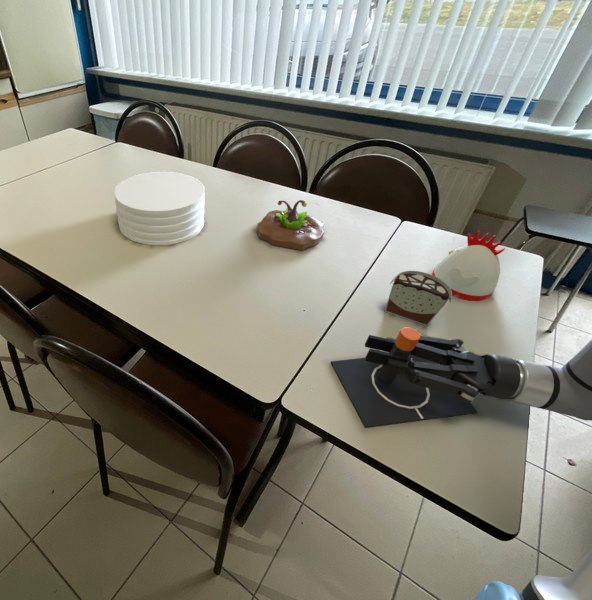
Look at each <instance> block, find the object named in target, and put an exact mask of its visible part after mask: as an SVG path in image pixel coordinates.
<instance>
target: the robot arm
mask: <svg viewBox="0 0 592 600" xmlns="http://www.w3.org/2000/svg"><path fill="white" fill-rule="evenodd" d="M395 340H396V338H394V337H393V338H392V337H385V338H384V337H381V336H376V335H372V334H369V335H368V337H367V339H366V341H365V343H364V347H365V348H367V349H368V352H367V353H366V356H365V357H364V358H365V361H368V362H373V363H377V364H381V365H386V367H387V368H389V369H393V370H398V371H402V372H404V373H405V374H407V375H408V377H409V382H410V383H413V384H416V385H419V386H422V387H426V388H429V389H432V390H436V391H439V392H442V393H446V394H449V395H452V396H456V397H457V398H459V399H461V400H463V401H465V402H467V403H471V404H472V402H473V401H474V400H475V399H476V398H477V396H479V395H481V396H485V397H487V398H493V399H497V400H502V401H508V402H512V403H516V404H519V405H524V406H527V407H531V408H536V409H541V410H545V411H549V412H554V413H558V414H560V415H565V416H569V417H574V418H576V419H579V420H583V421H591V422H592V339H590V340H589V341H588V342H587V343H586V344H585V345H584V346H583V347H582V348H581V349H579V351H578V352H577V353H576V354H575V355H573V357H572V358H571V359H570V360H568V361H567V362H566V363H565V364H564V365H563V366H562V367H556V366H550V365H546V364H541V363H536V362H532V361H527V360H523V359H519V358H518V359H517V358H515V359H514V358H512V357H507V356H503V355H498V354H493V353H487V354H481V355H480V354H477V353H474V352H473V351H469V350H467V349H465V347H464V346H463V345H464V340H462V339H460V338H456V339H455V338H454V339H447V338H440V337H433V336H427V335H422V334H420V339H419V341H418V342H417V344H416V346H415V347H414V349H413V350H412V351H411V353H410V355H414V356H417V357H420V358H423V359H426V360H429V361H432V362H436V363H439V365H437V364H429V363H421V362H414V360H413V359H411V360H410V361H409V363H408V362H407V361H408V357H405V356H400V355H397V354H392V353H389V352H390V350H391V348H392V347H393V345H394V343H395ZM419 378H420V379H419ZM474 600H592V548H590V550H589V551H588V552H587V554H586V555H585V556H584V557H583V558H582V559H581V561H580V562H579V563H578V565H576V567H575V568H574V570H573V571H572V572H571V573H570V575H569V576H566V577H560V576H559V577H558V576H552V575H551V576H550V575H543V574H536V575H534V576H533V577H532V578H531V580H529V582H528V583H527V584H526V586H525V587H524V588H523V589H522V591H521V592H517V590H516V588H515V587H513V585H510V584H505V583H504V582H502V581H499V580H493V581H489V583H488V584H486V585H484V586H483V587H482V588H481V589H480V590H479V591H478V593H477V595H476V596H475V598H474Z"/></svg>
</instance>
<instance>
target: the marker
mask: <svg viewBox="0 0 592 600" xmlns="http://www.w3.org/2000/svg"><path fill="white" fill-rule="evenodd" d="M420 335H421V334H420V332H419V331H418V330H416V329H415V328H413V327H409V326H404V327H402V328H401V329H400V331H399V332H398V334H397V336H396V338H395V339H396V340H395V343H394V345H393V347H392V348H391V350H390V352H388V353H392V354H397V355H400V356H405V357H408V356H409V354H410V353H411V351H412V350H413V349H414V347H415V346H416V344H417V342H418V341H419V339H420ZM398 372H399V371H398V370H393V369H389V368H387V367H386V365H382V367H381V369H380V370H379V372H378V374H377V377H378V379H379V380H380V381H381V382H382V383H385V384H391V383H392V382H393V381H394V379H395V377H396V376H397V374H398Z"/></svg>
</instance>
